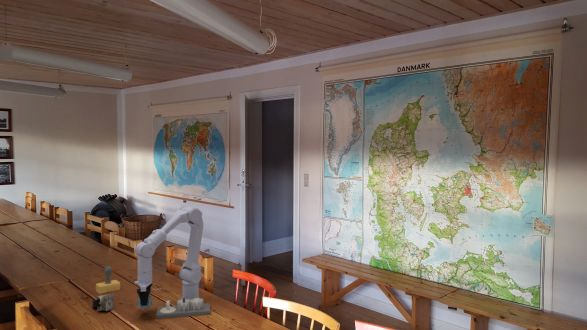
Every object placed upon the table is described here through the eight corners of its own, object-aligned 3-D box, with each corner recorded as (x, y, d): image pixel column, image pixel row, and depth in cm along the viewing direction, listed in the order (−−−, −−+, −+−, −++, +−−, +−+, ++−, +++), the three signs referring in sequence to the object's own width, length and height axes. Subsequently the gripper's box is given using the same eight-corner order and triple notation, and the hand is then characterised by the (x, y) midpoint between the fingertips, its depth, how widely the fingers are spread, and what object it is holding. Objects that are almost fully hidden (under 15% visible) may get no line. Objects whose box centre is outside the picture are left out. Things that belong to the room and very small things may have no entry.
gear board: (157, 310, 185) (157, 295, 185) (209, 306, 191) (209, 291, 191) (156, 318, 177) (156, 302, 176) (210, 314, 182) (210, 298, 182)
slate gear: (138, 304, 182) (138, 296, 181) (152, 303, 183) (152, 294, 183) (136, 309, 176) (136, 300, 176) (151, 308, 178) (151, 299, 177)
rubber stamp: (99, 294, 204) (99, 269, 203) (95, 291, 208) (95, 266, 208) (120, 289, 211) (120, 265, 210) (116, 286, 215) (116, 263, 214)
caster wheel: (99, 309, 192) (120, 306, 191) (84, 313, 181) (107, 311, 180) (98, 293, 193) (119, 291, 193) (84, 297, 182) (106, 294, 182)
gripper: (136, 266, 185) (136, 297, 186) (132, 276, 171) (132, 310, 172) (153, 265, 187) (153, 296, 187) (151, 275, 173) (151, 308, 173)
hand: (144, 302), depth 180 cm, fingers closed on slate gear, 6 cm apart
